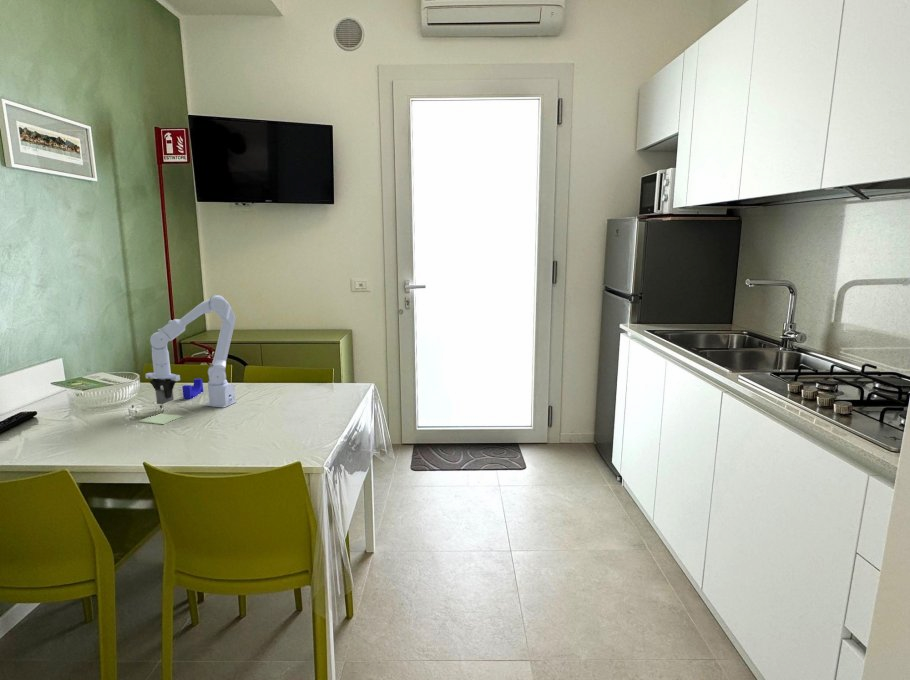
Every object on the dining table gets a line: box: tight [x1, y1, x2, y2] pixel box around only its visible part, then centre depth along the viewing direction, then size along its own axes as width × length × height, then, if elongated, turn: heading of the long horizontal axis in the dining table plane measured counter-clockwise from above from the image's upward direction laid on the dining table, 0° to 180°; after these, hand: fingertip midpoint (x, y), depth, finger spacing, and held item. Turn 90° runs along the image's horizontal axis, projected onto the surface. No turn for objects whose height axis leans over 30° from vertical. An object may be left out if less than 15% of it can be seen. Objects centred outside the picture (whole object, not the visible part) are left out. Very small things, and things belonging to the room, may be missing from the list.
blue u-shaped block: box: [181, 378, 204, 400], centre depth 229 cm, size 12×4×6 cm, turn 1°
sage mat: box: [138, 413, 183, 425], centre depth 199 cm, size 11×9×1 cm
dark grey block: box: [155, 386, 175, 405], centre depth 207 cm, size 3×7×6 cm, turn 164°
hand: (164, 397), depth 208 cm, fingers closed on dark grey block, 3 cm apart
